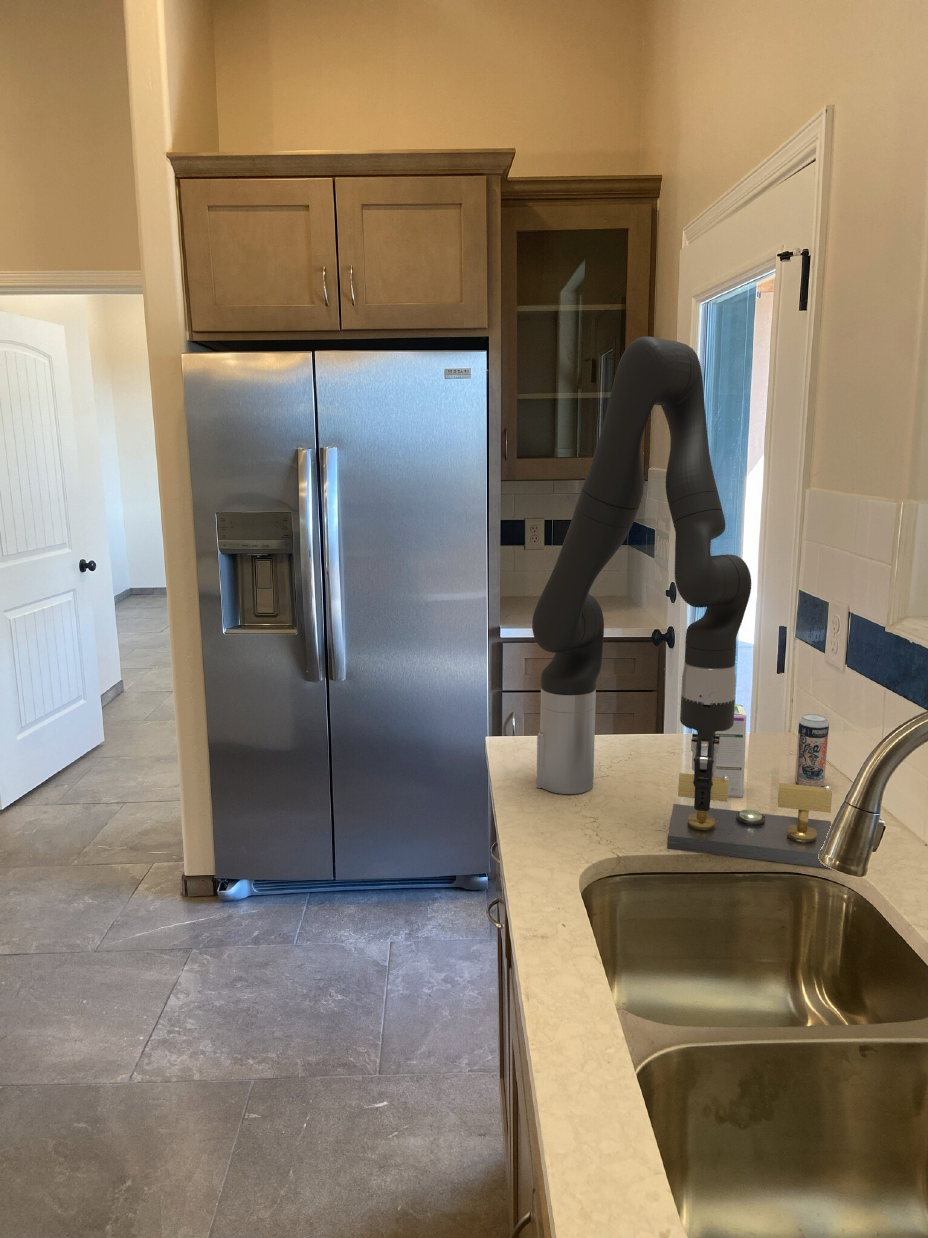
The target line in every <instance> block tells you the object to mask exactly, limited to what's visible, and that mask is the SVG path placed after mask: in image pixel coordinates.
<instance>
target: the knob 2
mask: <svg viewBox="0 0 928 1238" xmlns="http://www.w3.org/2000/svg"><path fill="white" fill-rule="evenodd" d="M777 792H778V794H777V807H778V808H782V809H783V808H785V809H790V810H792V809H793V810H798V811H797V817H798V821H797V825H790V826H788V828H787V836H788V837H789V838H791V839H793V840H795V841H799V842H813V841H815V840H816V838H817V831H816V830H815V829H814V828H812V827H809V826H808V819H809V815H810V814H809V812H810V811H811V812H819V813H830V814H831V813H832V801H833V798H832V797H833V789H832V787H831V786H830V785H825V786H824V787H823V786H821V787H815V786H805V785H799V784H794V783H782V782H778V791H777Z"/></svg>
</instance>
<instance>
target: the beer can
mask: <svg viewBox="0 0 928 1238" xmlns="http://www.w3.org/2000/svg"><path fill="white" fill-rule="evenodd" d="M829 728H830V723H829V721H828V718H827V717H826V716H824V715H820V714H815V713H807V714H803V715H802V716H801V719H799V721H798V733H797V744H796V759H795V770H794V771H795V772H794V781H795V783H796V784H797V785H805V786H815V787H823V786H824V785H825V781H826V765H827V757H828V756H827V755H828V743H829V742H828V741H829V731H830V730H829Z"/></svg>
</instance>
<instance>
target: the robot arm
mask: <svg viewBox="0 0 928 1238" xmlns="http://www.w3.org/2000/svg"><path fill="white" fill-rule="evenodd" d="M701 367H702V366H701V362H700V360H699V357H698V354H697V353H696V351H695V350H694V349H693V348H692V347H691V346H689V345H688V344H685V343H683V342H681V341H677V340H676V341H675V340H669V339H665V338H660V337H654V336H641V337H638V338H636V339H635V340H633V341H632V342H630V343H629V345H628V346H627V347H626V348H625V350H624V352H623V354H622V355H621V358H620V360H619V362H618V365H617V368H616V371H615V375H614V380H613V384H612V386H611V387H612V388H611V390H610V395H609V400H608V404H607V408H606V412H605V416H604V420H603V424H602V428H601V431H600V436H598V437H599V439H598V440H597V444H596V447H595V450H594V453H593V456H592V460H591V463H590V466H589V469H588V471H587V474H586V477H585V480H584V482H583V484H582V487H581V491H580V494H579V496H578V499H577V502H576V505H575V508H574V511H573V514H572V518H571V521H570V524H569V527H568V529H567V532H566V535H565V537H564V540H563V542H562V546H561V548H560V550H559V555H558V557H557V560H556V563H555V565H554V567H553V570H552V572H551V574H550V576H549V579H548V580H547V583H546V585H545V586H544V589H543V591H542V593H541V595H540V597H539V600H538V602H537V603H536V606H535V609H534V612H533V615H532V621H531V623H532V624H531V626H532V635H533V637H534V640H535V643H536V644H537V645H538V646H539V648H541V649H542V650H544V651H545V652H548V653H552V654H553V653H554V656H553V657H552V659H551V661H550V662H549V664H547V666H545V668H543V670H542V672H541V674H540V721H539V722H540V726H539V728H540V729H539V732H538V733H537V738H536V746H537V747H536V788H537V789H543V790H546V791H549V792H551V793H555V794H561V795H577V794H583V793H587V792H588V791H590V790H591V789H592V788H594V778H595V777H594V776H595V772H594V771H595V766H594V764H595V735H596V702H597V701H596V698H597V697H596V696H597V695H596V694H597V691H596V690H597V680H598V678H599V675H600V673H601V669H602V665H603V663H602V662H603V649H604V635H605V619H604V613H603V610H602V607H601V604H600V603H599V602H598V600H597V599H596V598H595V597H594V596H593V595H591V593H590V594H589V592H590V590H591V588H592V585H593V584H594V582H595V580H596V579H597V577H598V576H599V574H600V572H602V570H603V569H604V568H605V567H606V565H607V564H608V563H609V562H610V560H611V559H612V558H613V557H614V556H615V554H616V553H617V551H618V550H619V548H621V546H622V544H623V543H624V542H625V540H626V538H627V537H628V535H629V534H630V531H631V529H632V526H633V525H634V521H635V519H636V516H637V514H638V511H639V508H640V505H641V502H642V499H643V495H644V473H643V472H644V471H643V464H642V455H641V454H642V452H641V450H642V449H641V447H642V440H643V435H644V432H645V429H646V426H647V423H648V421H649V418H650V415H651V413H652V410H653V408H654V406H660V407H661V409H662V411H663V413H664V417H665V419H666V422H667V426H668V429H669V435H670V436H669V438H670V441H669V443H670V444H669V445H670V446H669V447H670V449H669V455H668V460H667V467H666V473H665V493H666V499H667V504H668V507H669V508H668V509H669V512H670V516H671V521H672V524H673V528H674V533H675V542H674V581H675V586H676V587H675V588H677V589H676V590H677V592H678V594H679V596H680V598H682V600H683V601H684V602H685V603H686V604H688V605H689V606H691V607H693V608H700V609H701V608H706V609H705V612H704V614H703V616H702V617H701V618H699V619H697V620H696V621H694V622H692V623H690V624H689V625H688V626H687V629H686V633H685V642H684V645H685V650H684V663H683V669H682V675H681V688H680V689H681V691H680V692H681V693H680V712H679V721H680V723H681V724H682V725H683V726H684V727H685V728H687V729H690V730H691V729H692V730H695V731H696V733H692V735H691V736H692V737H691V739H690V750H691V755H692V757H691V770H692V771H693V772H694V780H693V784H694V787H695V798H694V803H693V806H694V808H695V810H698V811H709V809H710V808H711V800H710V795H711V788H712V786H713V782H712V776H714V773H715V772H716V764H717V754H718V753H719V743H720V736H717V735H716V734H715V732H717V731H725V730H728V729H730V728H731V727H732V726H733V724H734V707H735V704H736V703H735V702H736V690H737V689H736V686H737V676H736V657H737V656H736V655H737V654H736V653H737V637H738V633H739V630H740V629H741V625H742V623H743V620H744V615H745V612H746V610H747V607H748V603H749V600H750V596H751V592H752V576H751V572H750V569H749V567H748V564H747V563H746V562H745V560H744V559H742V558H741V557H739V556H738V555H735V554H731V553H730V554H728V553H727V554H719V555H717V554H716V555H712V553H711V543H712V540H714V539H717V538H719V537H720V536H721V535H723V533H724V532H725V530H726V520H725V514H724V512H723V511H724V510H723V507H722V503H721V499H720V495H719V492H718V491H719V490H718V487H717V482H716V479H715V474H714V469H713V466H712V459H711V454H710V446H709V437H708V435H709V434H708V426H707V425H708V424H707V414H706V408H705V406H706V404H705V394H704V393H705V392H704V379H703V372H702V368H701ZM698 777H703V778H708V779H703V778H698Z"/></svg>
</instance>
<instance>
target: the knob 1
mask: <svg viewBox="0 0 928 1238" xmlns="http://www.w3.org/2000/svg"><path fill="white" fill-rule="evenodd" d="M678 774H679V776H678V786H677V787H678V789H677V790H678V791H677V797H678V798H687V799H688V798H689V799H695V787H694V784H693V780H694V774H692V773H684V772H680V773H678ZM698 778H703V777H698ZM703 779H708V778H703ZM728 780H729V778H728V777H727V776H722V777H715V776H712V782H713V786H712V788H711V795H710V801H717V802H726V803H727V802H728V800H729V799H728V798H729V797H728ZM715 822H716V820H715V818H714V817H712V816H710V815H707V811H698V810H697V814H691V815H689V816H688V822H687V824H688V826H690V827H691V828H693V829H697V830H711V829H714V828H715Z"/></svg>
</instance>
